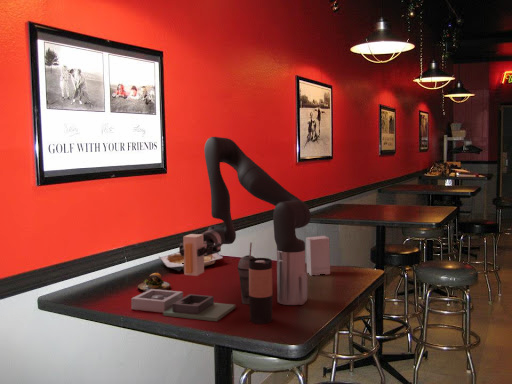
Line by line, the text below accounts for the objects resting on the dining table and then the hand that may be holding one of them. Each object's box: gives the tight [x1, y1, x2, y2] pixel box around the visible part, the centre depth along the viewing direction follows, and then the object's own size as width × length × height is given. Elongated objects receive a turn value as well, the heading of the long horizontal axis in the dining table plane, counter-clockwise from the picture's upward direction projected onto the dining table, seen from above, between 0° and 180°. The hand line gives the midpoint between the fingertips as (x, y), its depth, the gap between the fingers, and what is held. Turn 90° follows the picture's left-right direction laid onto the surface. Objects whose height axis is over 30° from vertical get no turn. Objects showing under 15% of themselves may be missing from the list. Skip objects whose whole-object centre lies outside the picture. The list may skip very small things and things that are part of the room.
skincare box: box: [305, 235, 331, 277], centre depth 213 cm, size 8×6×15 cm
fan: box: [130, 289, 184, 314], centre depth 176 cm, size 16×18×4 cm
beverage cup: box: [237, 242, 256, 305], centre depth 175 cm, size 7×7×20 cm
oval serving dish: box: [158, 251, 223, 272], centre depth 234 cm, size 32×4×23 cm
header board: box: [162, 293, 236, 322], centre depth 167 cm, size 18×14×4 cm
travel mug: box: [248, 257, 273, 325], centre depth 157 cm, size 7×7×18 cm
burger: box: [136, 269, 172, 292], centre depth 194 cm, size 12×12×8 cm
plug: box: [182, 233, 205, 277], centre depth 167 cm, size 4×6×12 cm
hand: (190, 252), depth 165 cm, fingers closed on plug, 5 cm apart
